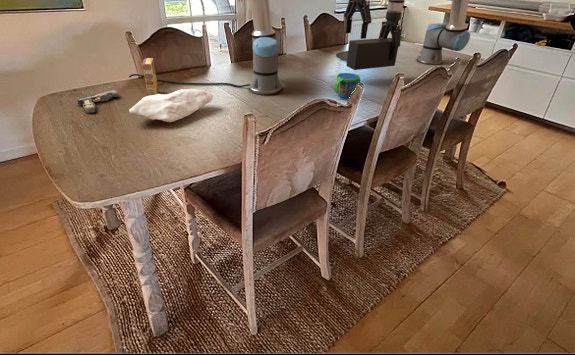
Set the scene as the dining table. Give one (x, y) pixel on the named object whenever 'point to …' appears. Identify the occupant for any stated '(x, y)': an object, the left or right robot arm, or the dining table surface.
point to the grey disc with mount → (342, 55)
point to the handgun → (95, 100)
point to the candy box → (150, 76)
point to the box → (370, 53)
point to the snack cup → (346, 84)
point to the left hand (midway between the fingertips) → (355, 35)
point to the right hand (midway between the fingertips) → (386, 57)
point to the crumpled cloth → (171, 104)
